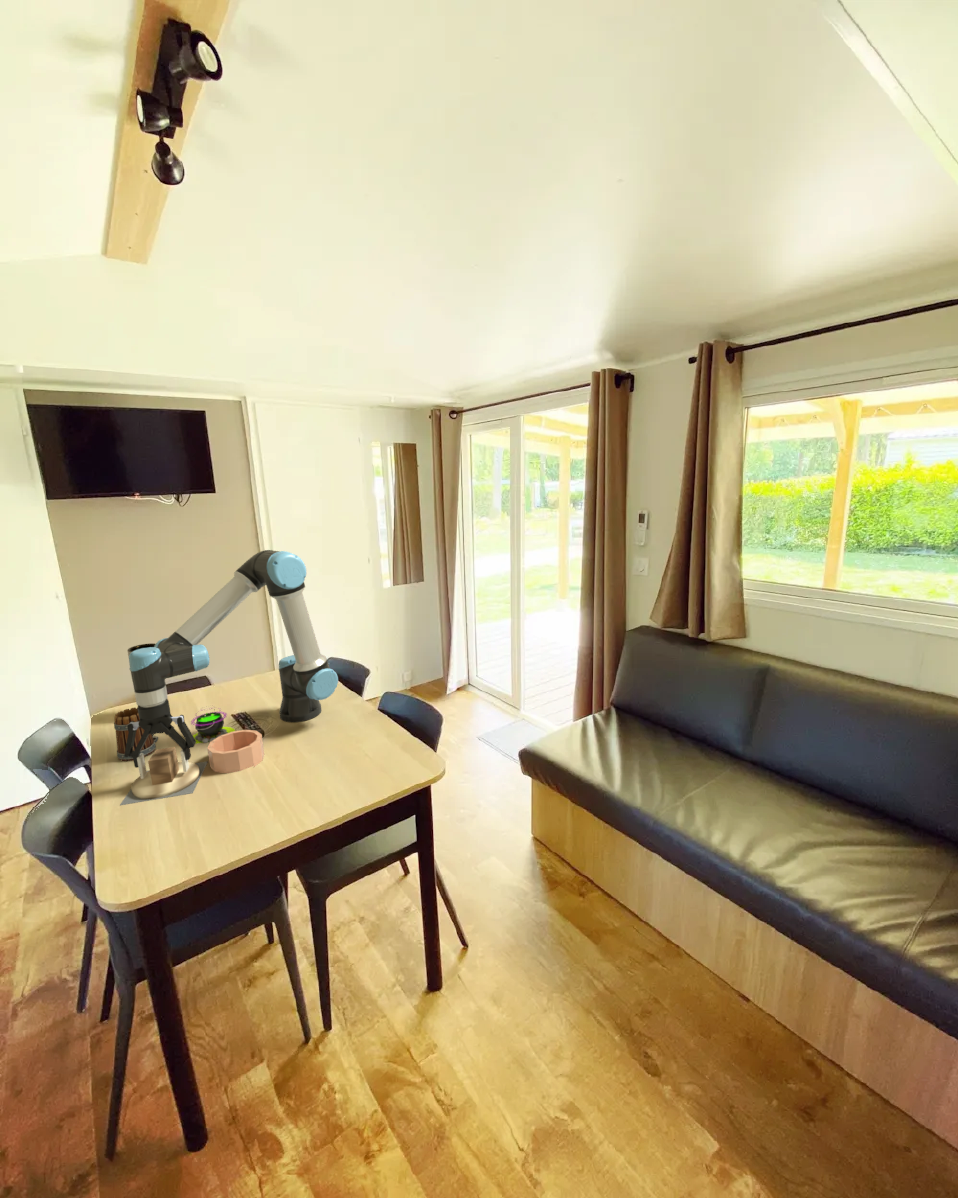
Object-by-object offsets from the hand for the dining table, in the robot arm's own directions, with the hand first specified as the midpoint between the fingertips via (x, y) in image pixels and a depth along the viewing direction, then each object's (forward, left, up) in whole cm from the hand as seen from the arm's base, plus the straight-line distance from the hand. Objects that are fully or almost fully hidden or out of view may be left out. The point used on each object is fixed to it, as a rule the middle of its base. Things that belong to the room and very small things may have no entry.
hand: (165, 772), depth 147 cm
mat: (0, 0, -3) cm, 3 cm away
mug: (+14, -25, -4) cm, 29 cm away
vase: (+20, -56, -4) cm, 60 cm away
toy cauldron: (-6, -29, -4) cm, 29 cm away
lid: (0, 0, -3) cm, 3 cm away
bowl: (-18, -7, -3) cm, 20 cm away
